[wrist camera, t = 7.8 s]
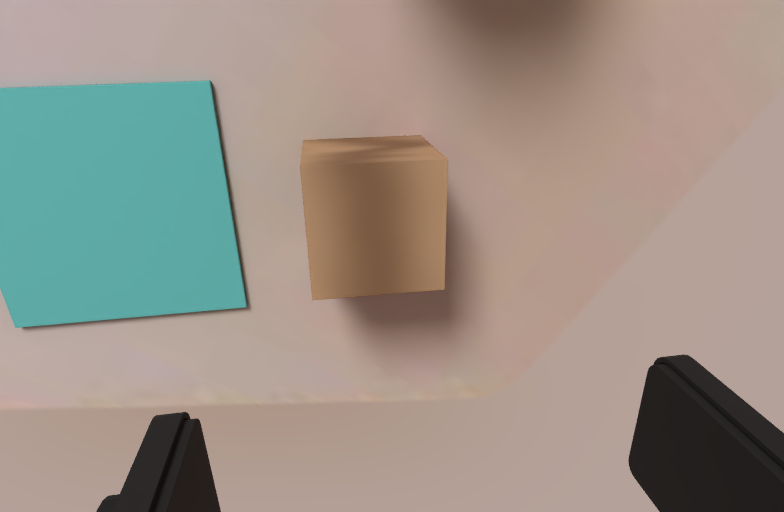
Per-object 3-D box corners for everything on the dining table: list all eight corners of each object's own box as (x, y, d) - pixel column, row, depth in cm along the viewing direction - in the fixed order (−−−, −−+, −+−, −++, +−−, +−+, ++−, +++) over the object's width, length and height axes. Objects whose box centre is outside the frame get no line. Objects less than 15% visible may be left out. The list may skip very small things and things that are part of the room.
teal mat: (210, 80, 23) (209, 81, 23) (247, 304, 28) (246, 307, 28) (-71, 90, 22) (-76, 91, 21) (18, 324, 27) (15, 327, 26)
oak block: (419, 134, 26) (448, 159, 20) (419, 241, 28) (444, 289, 23) (303, 139, 25) (299, 166, 19) (313, 249, 27) (312, 300, 22)
